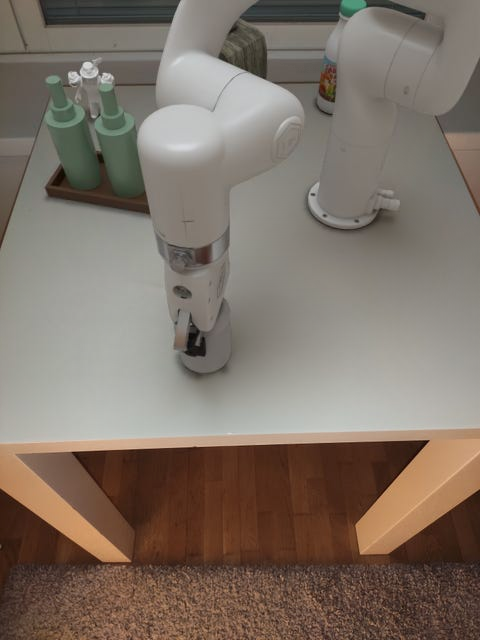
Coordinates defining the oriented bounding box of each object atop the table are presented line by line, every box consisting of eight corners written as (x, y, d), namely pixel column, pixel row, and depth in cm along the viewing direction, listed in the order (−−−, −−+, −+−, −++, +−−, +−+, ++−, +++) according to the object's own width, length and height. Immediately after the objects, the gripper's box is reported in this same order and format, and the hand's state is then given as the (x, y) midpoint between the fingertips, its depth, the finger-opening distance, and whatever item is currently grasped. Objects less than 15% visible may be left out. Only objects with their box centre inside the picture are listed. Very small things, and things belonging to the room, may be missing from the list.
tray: (223, 182, 88) (223, 170, 86) (207, 226, 82) (206, 215, 80) (75, 157, 92) (71, 146, 90) (49, 198, 86) (44, 187, 83)
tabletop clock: (264, 121, 98) (272, -15, 77) (235, 142, 95) (236, 4, 74) (212, 94, 103) (207, -41, 82) (183, 113, 100) (170, -23, 79)
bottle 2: (151, 177, 88) (133, 78, 72) (140, 201, 85) (118, 102, 69) (119, 172, 89) (93, 72, 73) (106, 195, 85) (76, 96, 69)
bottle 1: (108, 170, 89) (81, 70, 73) (95, 193, 85) (63, 94, 70) (76, 165, 90) (42, 65, 74) (62, 187, 86) (23, 88, 70)
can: (225, 380, 66) (223, 336, 56) (173, 370, 67) (162, 325, 57) (236, 335, 70) (236, 286, 60) (187, 326, 71) (179, 277, 61)
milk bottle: (315, 94, 104) (331, -9, 87) (350, 95, 104) (373, -8, 87) (317, 115, 100) (334, 11, 83) (354, 116, 100) (378, 13, 83)
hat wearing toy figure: (123, 112, 100) (111, 54, 90) (120, 124, 98) (106, 66, 88) (81, 110, 100) (64, 53, 90) (76, 122, 98) (58, 64, 88)
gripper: (205, 309, 43) (213, 391, 57) (247, 181, 52) (244, 280, 67) (126, 293, 43) (154, 378, 58) (181, 170, 53) (193, 270, 68)
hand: (202, 325), depth 62 cm, fingers closed on can, 7 cm apart
